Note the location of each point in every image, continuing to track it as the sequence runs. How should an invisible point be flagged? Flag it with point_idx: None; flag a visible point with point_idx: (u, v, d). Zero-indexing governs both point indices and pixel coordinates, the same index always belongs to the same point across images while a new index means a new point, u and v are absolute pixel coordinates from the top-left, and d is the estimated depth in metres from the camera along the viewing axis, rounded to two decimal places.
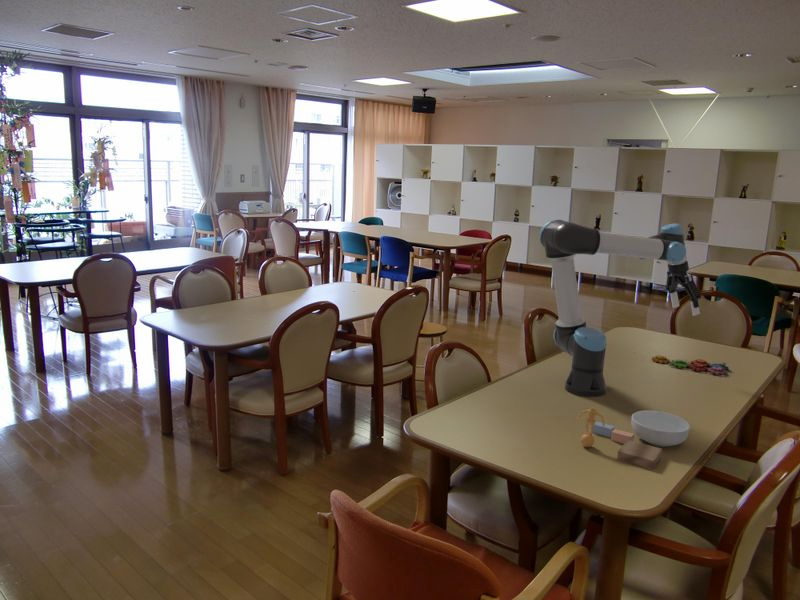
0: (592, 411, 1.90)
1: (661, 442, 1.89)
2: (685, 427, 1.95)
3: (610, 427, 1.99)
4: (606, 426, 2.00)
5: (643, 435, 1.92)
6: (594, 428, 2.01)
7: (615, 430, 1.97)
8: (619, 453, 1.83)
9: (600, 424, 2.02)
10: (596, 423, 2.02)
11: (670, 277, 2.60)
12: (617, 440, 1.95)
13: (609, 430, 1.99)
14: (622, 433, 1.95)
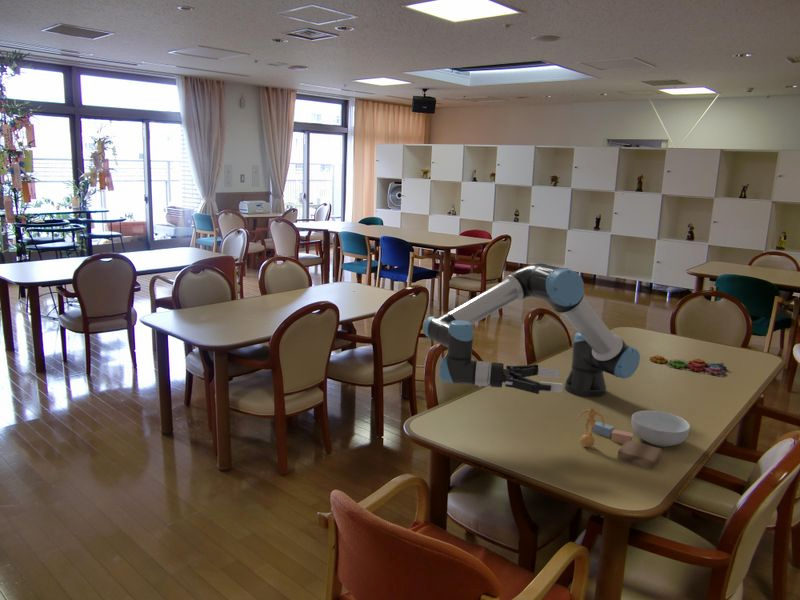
0: (592, 411, 1.90)
1: (661, 442, 1.89)
2: (685, 427, 1.95)
3: (609, 428, 1.99)
4: (606, 426, 2.00)
5: (643, 435, 1.92)
6: (594, 427, 2.02)
7: (615, 430, 1.97)
8: (619, 453, 1.83)
9: (600, 424, 2.02)
10: (596, 423, 2.02)
11: None
12: (618, 440, 1.95)
13: (608, 430, 1.98)
14: (622, 433, 1.95)
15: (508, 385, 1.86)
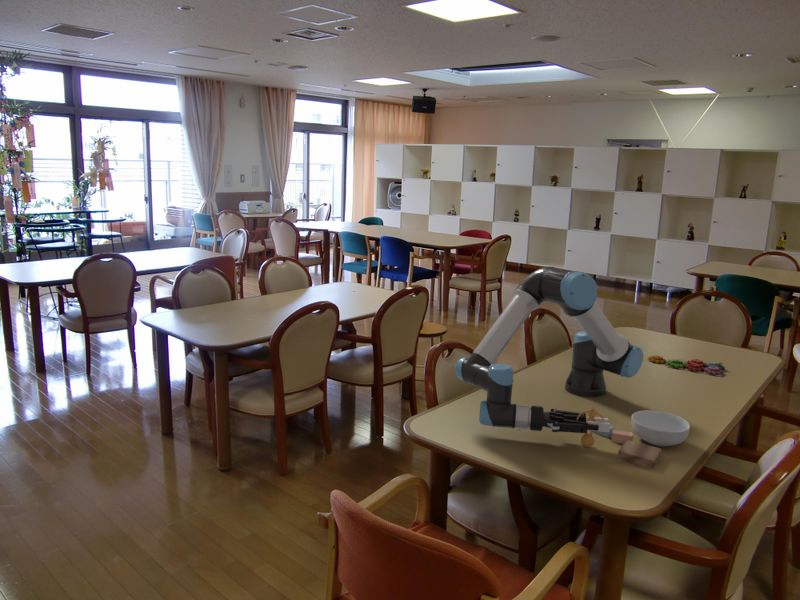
0: (592, 411, 1.90)
1: (661, 442, 1.89)
2: (685, 427, 1.95)
3: None
4: None
5: (643, 435, 1.92)
6: None
7: (614, 431, 1.97)
8: (619, 453, 1.83)
9: None
10: None
11: None
12: (618, 441, 1.95)
13: None
14: (623, 433, 1.95)
15: (556, 430, 1.87)
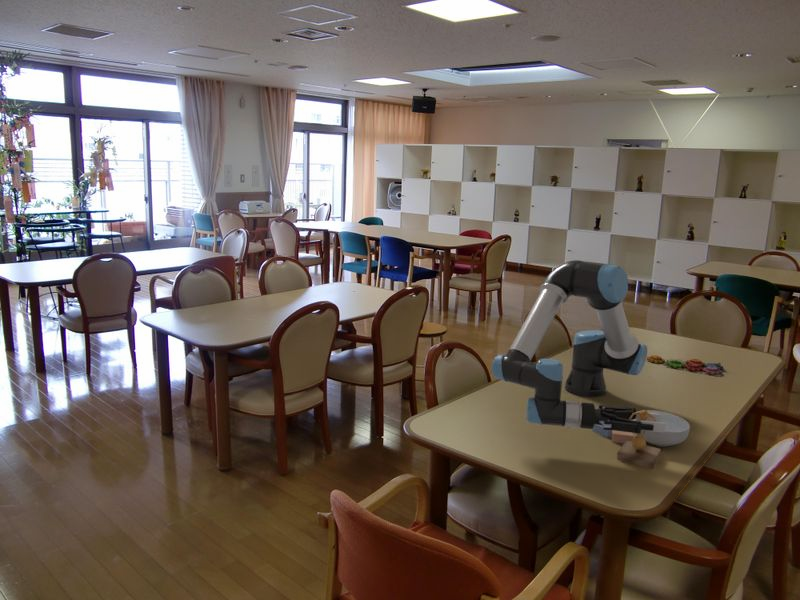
0: (645, 414, 1.83)
1: (661, 442, 1.89)
2: (685, 427, 1.95)
3: None
4: None
5: None
6: (594, 427, 2.02)
7: (614, 431, 1.96)
8: (619, 454, 1.83)
9: None
10: None
11: None
12: (619, 441, 1.95)
13: (606, 430, 1.98)
14: (623, 433, 1.95)
15: (607, 428, 1.78)
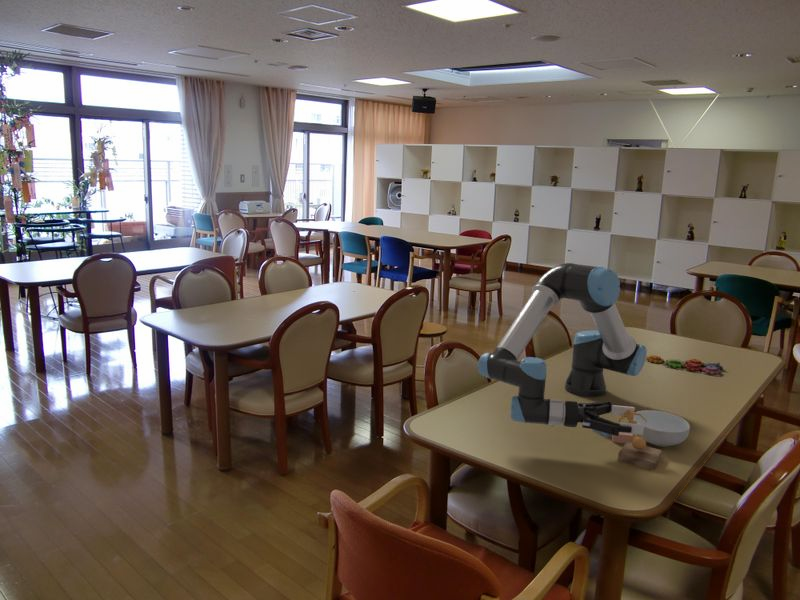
0: (629, 412, 1.87)
1: (661, 442, 1.89)
2: (685, 427, 1.95)
3: None
4: None
5: (643, 435, 1.92)
6: None
7: None
8: (620, 455, 1.82)
9: None
10: None
11: None
12: (619, 441, 1.95)
13: None
14: (623, 433, 1.95)
15: (585, 426, 1.79)
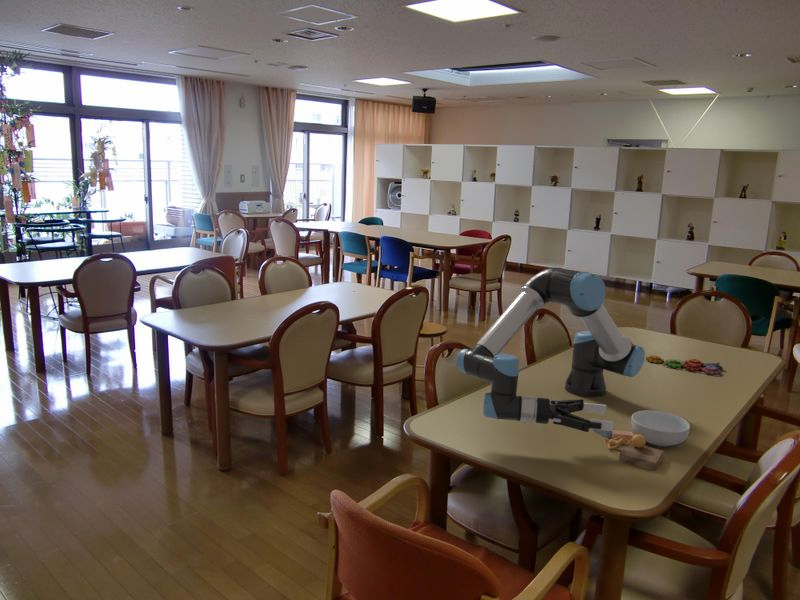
0: None
1: (661, 442, 1.89)
2: (685, 427, 1.95)
3: None
4: None
5: (643, 435, 1.92)
6: None
7: (614, 431, 1.96)
8: (621, 455, 1.82)
9: None
10: None
11: None
12: None
13: None
14: (623, 433, 1.95)
15: (556, 422, 1.80)
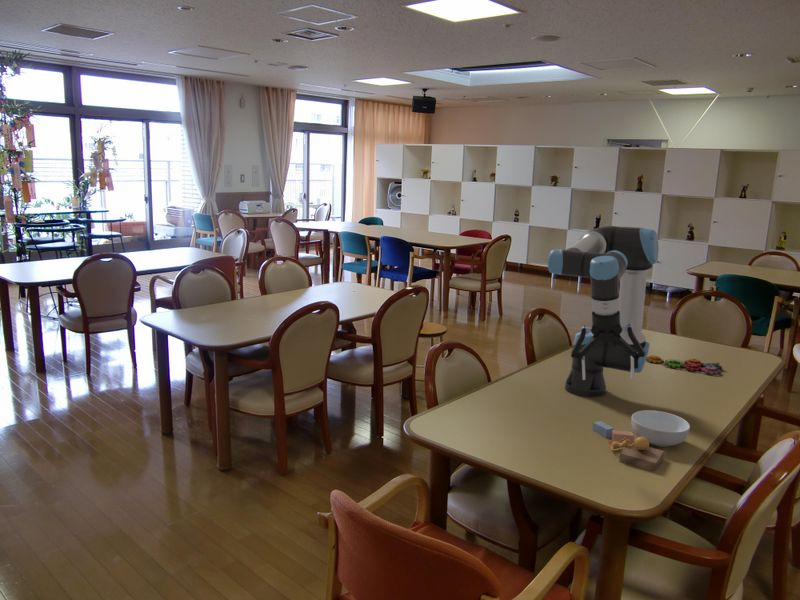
0: (612, 441, 1.90)
1: (661, 442, 1.89)
2: (685, 427, 1.95)
3: (607, 428, 1.99)
4: (605, 426, 2.00)
5: (643, 435, 1.92)
6: (594, 426, 2.03)
7: (614, 431, 1.96)
8: (621, 455, 1.82)
9: (601, 424, 2.02)
10: (598, 422, 2.03)
11: None
12: None
13: (605, 430, 1.98)
14: (623, 433, 1.95)
15: (631, 329, 1.77)
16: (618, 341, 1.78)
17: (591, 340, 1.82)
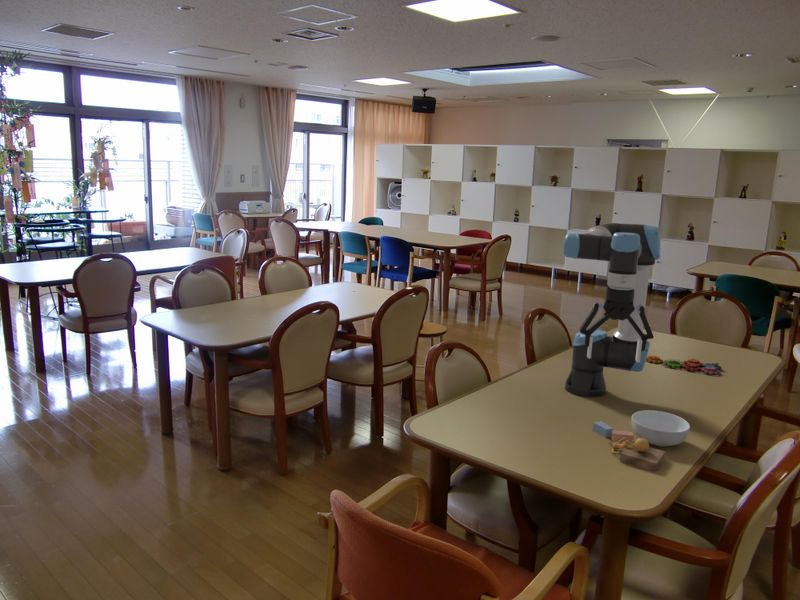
0: (612, 442, 1.89)
1: (661, 442, 1.89)
2: (685, 427, 1.95)
3: (607, 428, 1.99)
4: (604, 426, 2.00)
5: (643, 435, 1.92)
6: (594, 426, 2.03)
7: (614, 431, 1.96)
8: (622, 455, 1.82)
9: (601, 424, 2.02)
10: (598, 422, 2.03)
11: (639, 314, 1.80)
12: None
13: (604, 430, 1.98)
14: (623, 433, 1.95)
15: None
16: (630, 319, 1.78)
17: (602, 317, 1.81)
